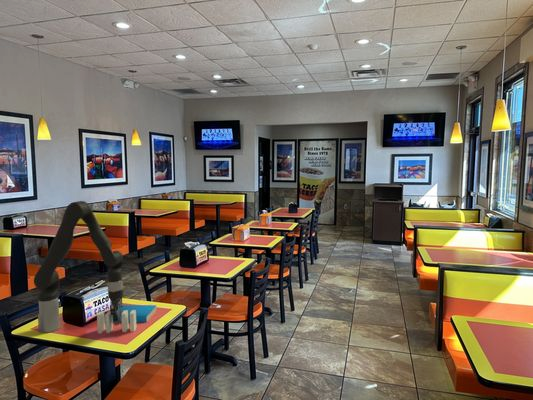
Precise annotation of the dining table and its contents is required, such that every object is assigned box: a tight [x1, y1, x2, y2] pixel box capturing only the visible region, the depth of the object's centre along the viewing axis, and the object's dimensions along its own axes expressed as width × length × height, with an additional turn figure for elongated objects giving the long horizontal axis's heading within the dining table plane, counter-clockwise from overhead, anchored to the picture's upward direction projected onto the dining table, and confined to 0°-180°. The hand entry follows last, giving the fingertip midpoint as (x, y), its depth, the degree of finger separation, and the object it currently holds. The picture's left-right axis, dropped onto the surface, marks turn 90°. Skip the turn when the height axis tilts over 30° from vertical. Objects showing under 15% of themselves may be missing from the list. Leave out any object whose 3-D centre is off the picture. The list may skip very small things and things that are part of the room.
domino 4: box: [121, 310, 130, 333], centre depth 201 cm, size 2×5×10 cm, turn 6°
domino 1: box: [96, 311, 106, 334], centre depth 200 cm, size 2×5×10 cm, turn 5°
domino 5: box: [129, 310, 137, 333], centre depth 202 cm, size 2×5×10 cm, turn 6°
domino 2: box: [104, 310, 114, 334], centre depth 200 cm, size 2×5×10 cm, turn 6°
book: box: [104, 304, 157, 323], centre depth 220 cm, size 17×4×25 cm
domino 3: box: [113, 304, 122, 326], centre depth 200 cm, size 2×5×10 cm, turn 5°
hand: (117, 318), depth 201 cm, fingers closed on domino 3, 5 cm apart
